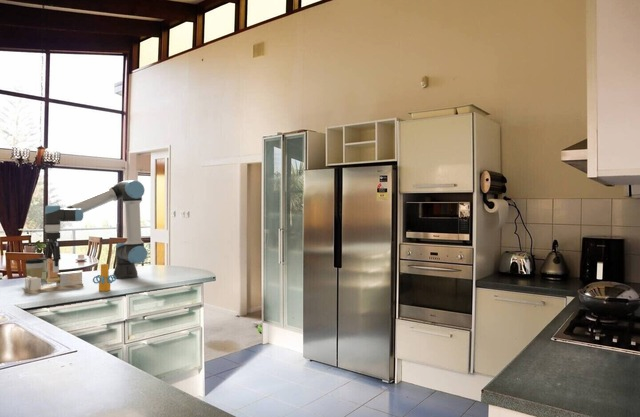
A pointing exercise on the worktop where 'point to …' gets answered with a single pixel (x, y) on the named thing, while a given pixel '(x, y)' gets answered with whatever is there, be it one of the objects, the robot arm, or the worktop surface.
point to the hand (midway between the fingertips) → (52, 271)
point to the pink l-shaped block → (52, 273)
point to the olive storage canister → (34, 267)
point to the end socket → (32, 283)
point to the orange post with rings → (104, 278)
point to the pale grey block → (69, 278)
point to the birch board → (52, 288)
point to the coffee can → (44, 269)
